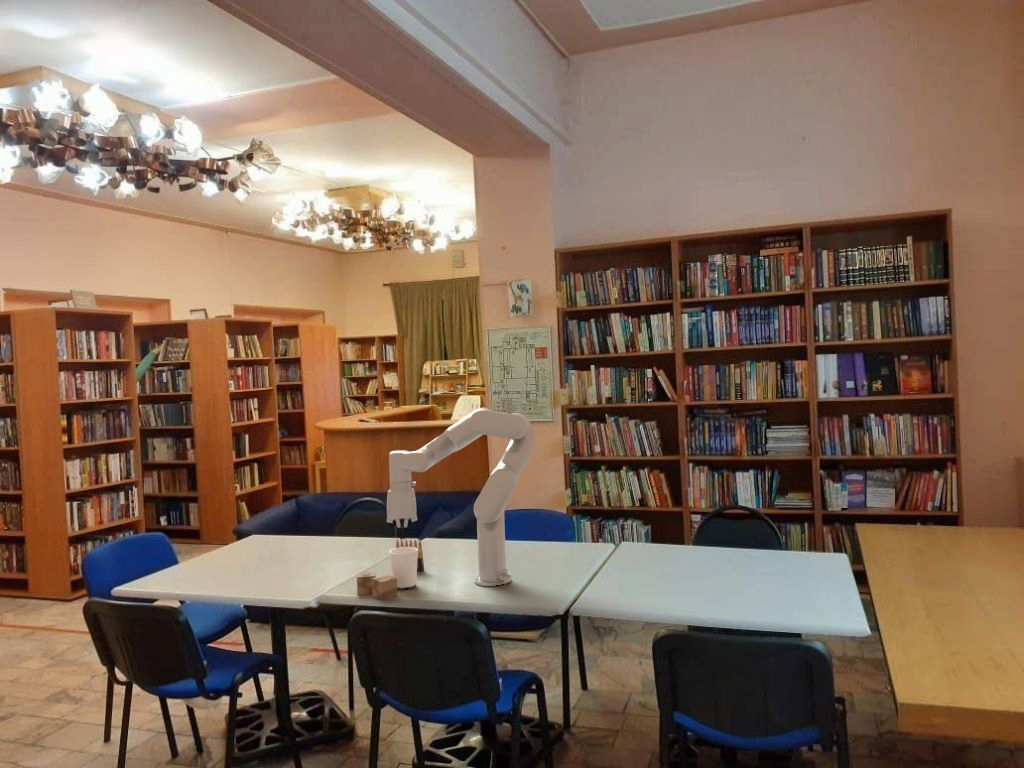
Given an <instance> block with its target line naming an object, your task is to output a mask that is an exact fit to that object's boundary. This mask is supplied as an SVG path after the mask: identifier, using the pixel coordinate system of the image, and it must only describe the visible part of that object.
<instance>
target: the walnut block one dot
mask: <svg viewBox="0 0 1024 768" xmlns="http://www.w3.org/2000/svg"><path fill="white" fill-rule="evenodd" d="M376 573H377V572H376V571H364V572H363V571H360V572H357V575H356V591H357V592H356V593H357V596H362V595H364V596H365V595H373V590H372V578H376V577H377V575H376Z"/></svg>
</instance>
